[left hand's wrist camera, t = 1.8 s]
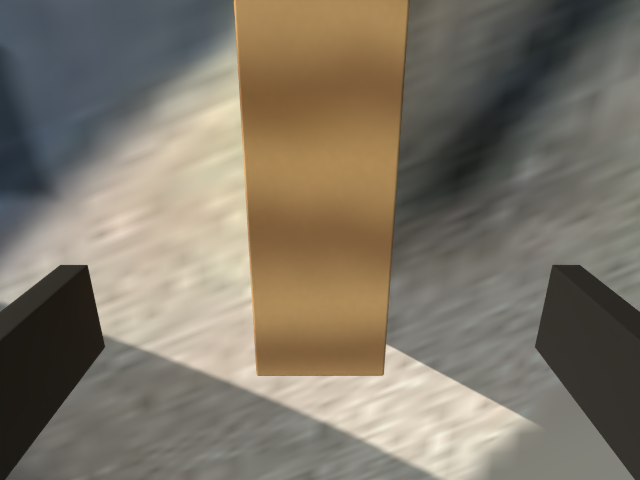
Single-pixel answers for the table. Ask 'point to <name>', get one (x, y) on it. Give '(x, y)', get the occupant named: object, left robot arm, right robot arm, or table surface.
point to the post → (321, 177)
